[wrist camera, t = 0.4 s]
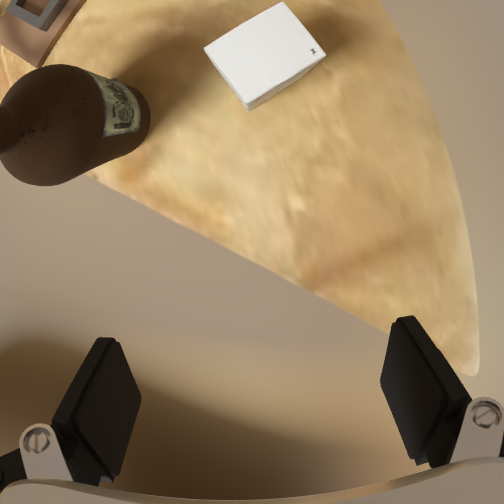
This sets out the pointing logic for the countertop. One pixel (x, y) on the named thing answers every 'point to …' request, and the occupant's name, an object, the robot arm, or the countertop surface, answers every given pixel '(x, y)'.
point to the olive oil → (68, 124)
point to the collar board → (35, 26)
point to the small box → (264, 54)
